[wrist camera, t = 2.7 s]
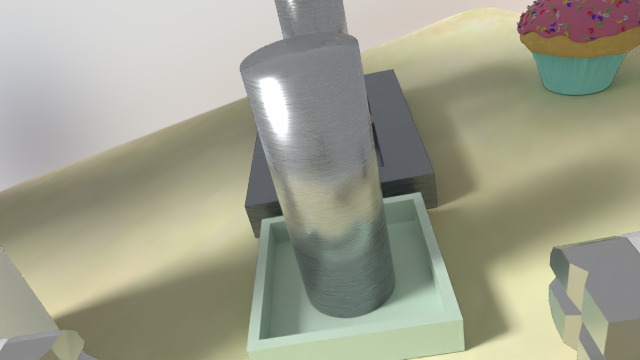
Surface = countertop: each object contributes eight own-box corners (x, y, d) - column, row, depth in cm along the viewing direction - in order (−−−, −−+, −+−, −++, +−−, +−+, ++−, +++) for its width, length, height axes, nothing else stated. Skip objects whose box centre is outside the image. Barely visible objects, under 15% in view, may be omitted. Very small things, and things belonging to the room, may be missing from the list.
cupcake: (504, 102, 39) (505, -69, 32) (532, 58, 44) (538, -96, 38) (635, 112, 34) (667, -86, 27) (649, 61, 39) (678, -113, 33)
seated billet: (304, 137, 37) (262, -32, 31) (304, 111, 41) (267, -45, 35) (364, 126, 37) (335, -48, 31) (358, 101, 41) (332, -59, 34)
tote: (258, 380, 22) (246, 351, 21) (270, 246, 30) (261, 219, 29) (464, 350, 21) (462, 319, 20) (423, 220, 29) (420, 192, 28)
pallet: (255, 237, 31) (244, 206, 29) (270, 119, 44) (263, 94, 43) (437, 206, 30) (434, 173, 28) (396, 95, 43) (393, 69, 42)
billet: (306, 324, 24) (232, 89, 17) (306, 259, 27) (245, 46, 21) (402, 310, 23) (364, 63, 17) (388, 245, 27) (353, 24, 21)
